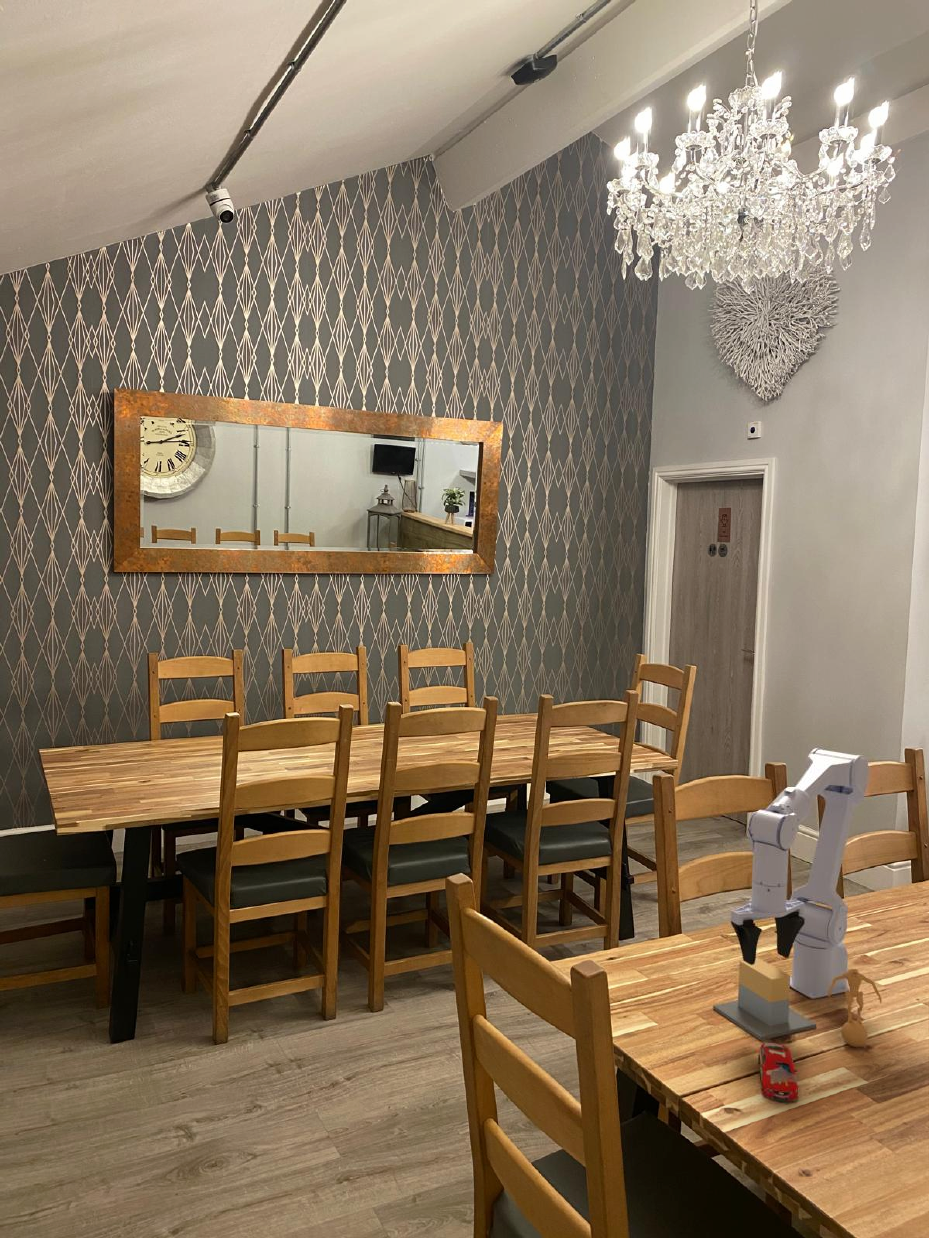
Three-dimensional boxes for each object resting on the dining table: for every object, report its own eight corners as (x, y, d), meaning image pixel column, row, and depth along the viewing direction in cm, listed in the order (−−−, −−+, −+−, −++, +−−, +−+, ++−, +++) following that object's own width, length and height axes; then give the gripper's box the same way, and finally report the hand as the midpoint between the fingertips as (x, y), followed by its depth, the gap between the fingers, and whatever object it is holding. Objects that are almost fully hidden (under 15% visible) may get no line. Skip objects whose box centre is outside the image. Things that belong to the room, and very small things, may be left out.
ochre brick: (756, 979, 168) (757, 957, 168) (789, 998, 161) (790, 975, 160) (738, 983, 166) (739, 960, 166) (770, 1002, 159) (771, 979, 159)
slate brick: (755, 1001, 168) (756, 979, 168) (788, 1021, 161) (789, 998, 161) (737, 1005, 166) (738, 983, 166) (770, 1026, 159) (771, 1002, 159)
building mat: (766, 997, 171) (766, 993, 171) (816, 1027, 160) (816, 1023, 160) (713, 1008, 166) (713, 1005, 166) (760, 1040, 155) (760, 1036, 155)
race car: (799, 1109, 136) (800, 1082, 136) (760, 1102, 138) (761, 1076, 138) (793, 1062, 149) (794, 1038, 149) (757, 1057, 151) (758, 1032, 150)
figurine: (829, 1047, 154) (832, 975, 153) (823, 1030, 159) (826, 960, 159) (883, 1054, 152) (887, 981, 151) (876, 1036, 158) (879, 966, 157)
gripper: (785, 869, 169) (781, 943, 169) (720, 878, 163) (717, 956, 163) (814, 881, 162) (811, 959, 163) (748, 892, 156) (745, 972, 157)
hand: (766, 958), depth 163 cm, fingers open, 7 cm apart
